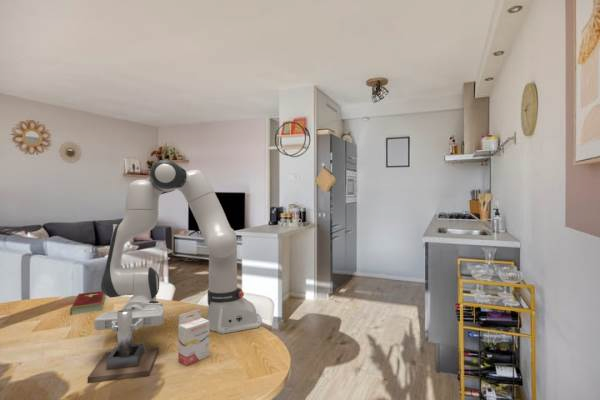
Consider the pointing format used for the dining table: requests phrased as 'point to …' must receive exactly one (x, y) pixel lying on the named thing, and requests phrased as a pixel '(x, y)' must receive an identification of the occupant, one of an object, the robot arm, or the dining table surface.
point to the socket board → (123, 373)
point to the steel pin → (124, 332)
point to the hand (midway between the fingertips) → (124, 328)
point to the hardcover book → (88, 302)
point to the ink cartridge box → (192, 337)
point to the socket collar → (125, 358)
